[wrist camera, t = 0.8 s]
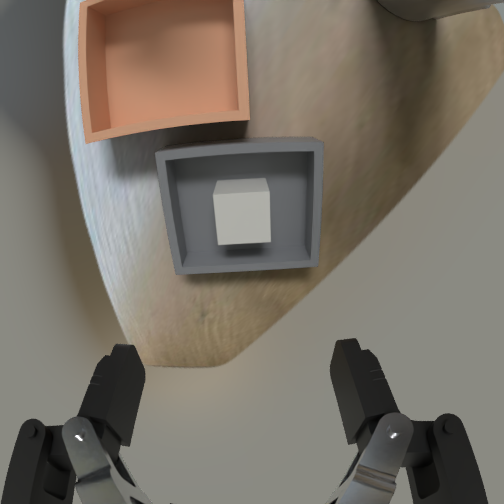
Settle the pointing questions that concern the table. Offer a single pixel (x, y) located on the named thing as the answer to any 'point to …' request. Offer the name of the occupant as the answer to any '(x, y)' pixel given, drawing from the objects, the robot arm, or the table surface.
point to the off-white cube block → (242, 211)
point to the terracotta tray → (160, 65)
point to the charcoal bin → (242, 167)
